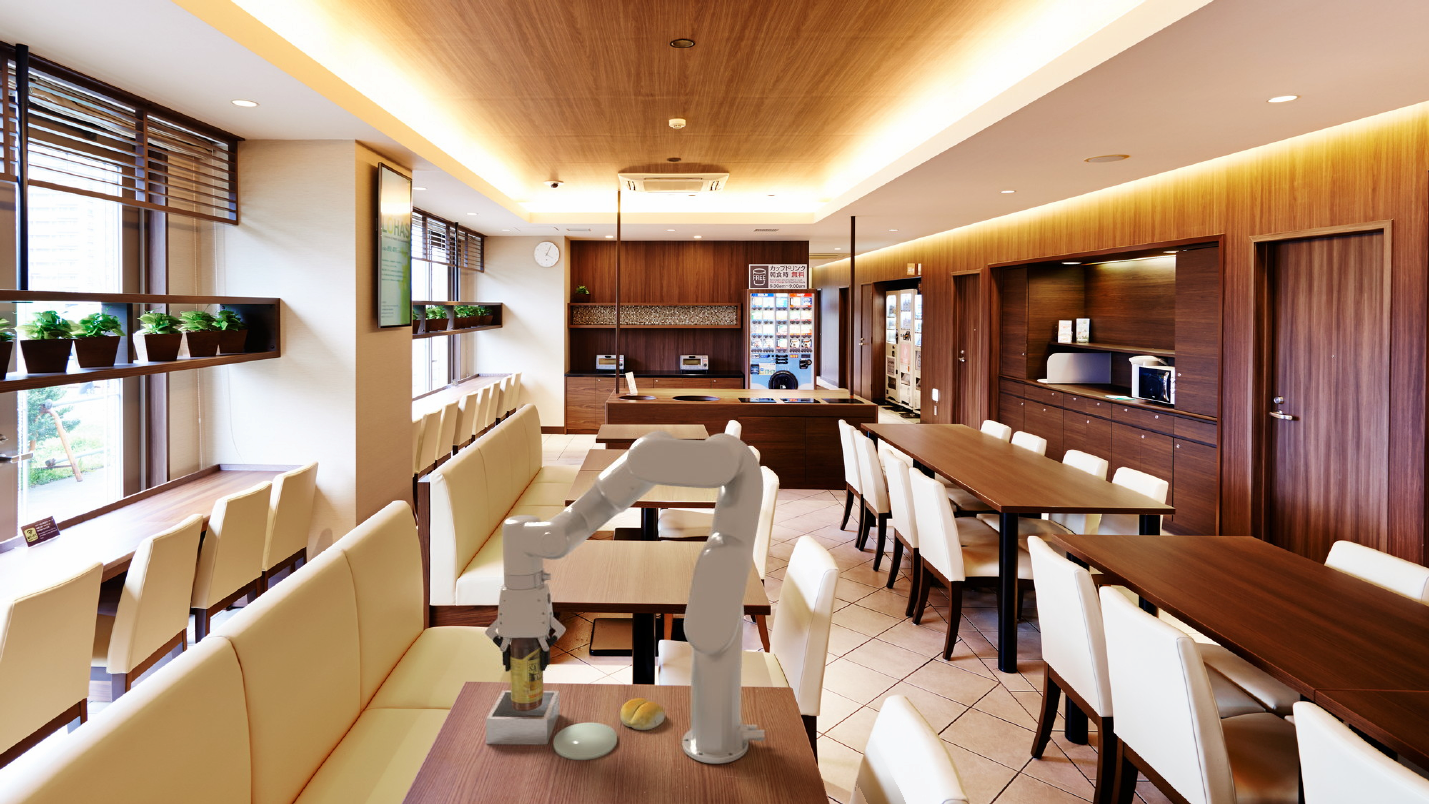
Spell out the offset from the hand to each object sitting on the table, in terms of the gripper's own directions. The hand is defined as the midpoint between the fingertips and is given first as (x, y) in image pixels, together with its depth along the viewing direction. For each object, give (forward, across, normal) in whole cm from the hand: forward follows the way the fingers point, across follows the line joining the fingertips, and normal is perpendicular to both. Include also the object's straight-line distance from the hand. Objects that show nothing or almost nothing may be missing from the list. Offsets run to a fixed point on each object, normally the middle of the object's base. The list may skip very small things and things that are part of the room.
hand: (526, 667), depth 146 cm
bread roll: (+14, -22, -4) cm, 26 cm away
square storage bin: (+13, +1, 0) cm, 13 cm away
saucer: (+13, -12, +5) cm, 18 cm away
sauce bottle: (+8, 0, 0) cm, 8 cm away
